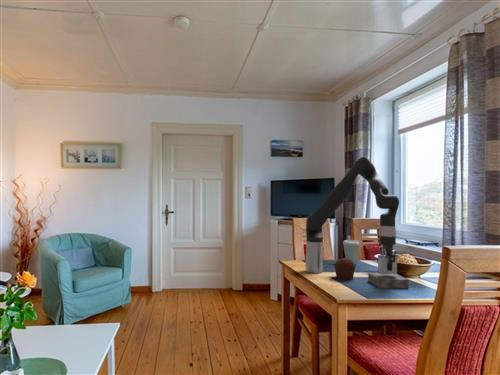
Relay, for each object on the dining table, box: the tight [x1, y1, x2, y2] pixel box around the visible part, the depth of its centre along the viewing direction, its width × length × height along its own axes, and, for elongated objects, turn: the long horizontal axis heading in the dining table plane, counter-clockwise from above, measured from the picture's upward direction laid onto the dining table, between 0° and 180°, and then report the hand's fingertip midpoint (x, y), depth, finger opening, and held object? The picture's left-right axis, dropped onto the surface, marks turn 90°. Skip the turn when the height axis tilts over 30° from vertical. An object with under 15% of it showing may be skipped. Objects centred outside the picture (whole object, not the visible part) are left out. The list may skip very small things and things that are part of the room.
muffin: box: [333, 257, 357, 281], centre depth 184 cm, size 12×11×10 cm
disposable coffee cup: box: [342, 239, 360, 265], centre depth 223 cm, size 11×11×15 cm
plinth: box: [367, 272, 409, 289], centre depth 171 cm, size 14×14×4 cm
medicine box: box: [377, 254, 398, 274], centre depth 171 cm, size 8×4×9 cm, turn 92°
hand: (387, 269), depth 171 cm, fingers closed on medicine box, 4 cm apart
